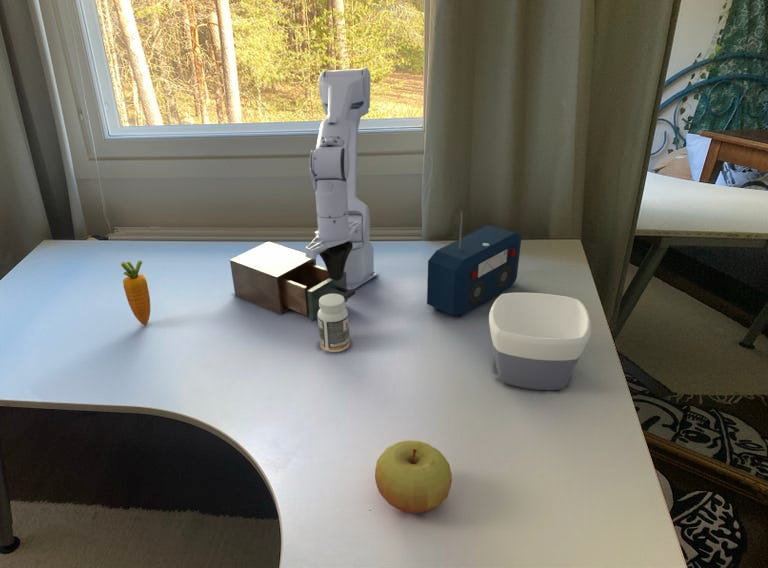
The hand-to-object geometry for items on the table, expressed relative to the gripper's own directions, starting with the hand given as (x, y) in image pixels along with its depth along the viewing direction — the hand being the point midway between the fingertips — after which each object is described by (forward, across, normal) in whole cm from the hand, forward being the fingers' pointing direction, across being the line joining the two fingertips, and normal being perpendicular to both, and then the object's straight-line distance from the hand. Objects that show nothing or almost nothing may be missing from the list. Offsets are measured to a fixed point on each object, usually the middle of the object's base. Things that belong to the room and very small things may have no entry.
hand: (336, 278), depth 122 cm
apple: (+9, +32, +38) cm, 50 cm away
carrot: (+9, +24, -32) cm, 41 cm away
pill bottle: (+9, +8, +6) cm, 14 cm away
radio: (+9, -22, +18) cm, 30 cm away
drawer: (+8, 0, -6) cm, 10 cm away
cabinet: (+9, -1, -18) cm, 20 cm away
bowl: (+9, -4, +38) cm, 40 cm away
